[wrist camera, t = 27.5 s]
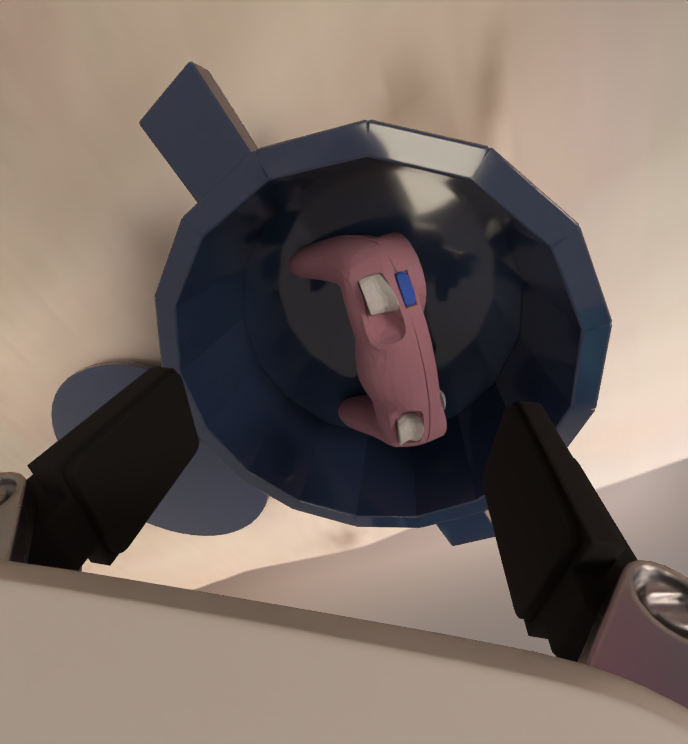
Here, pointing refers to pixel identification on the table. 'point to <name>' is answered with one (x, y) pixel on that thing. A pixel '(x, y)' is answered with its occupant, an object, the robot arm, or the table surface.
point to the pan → (329, 315)
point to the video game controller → (383, 334)
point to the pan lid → (197, 481)
